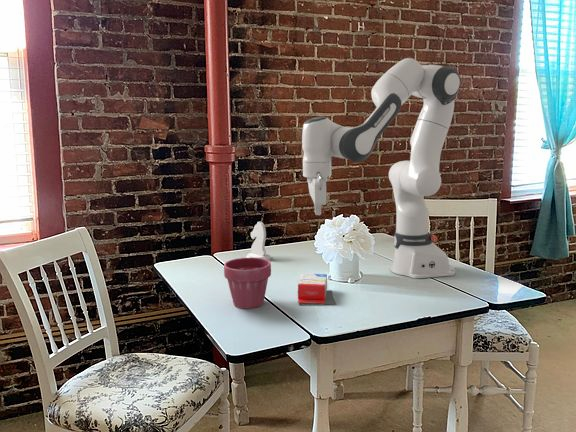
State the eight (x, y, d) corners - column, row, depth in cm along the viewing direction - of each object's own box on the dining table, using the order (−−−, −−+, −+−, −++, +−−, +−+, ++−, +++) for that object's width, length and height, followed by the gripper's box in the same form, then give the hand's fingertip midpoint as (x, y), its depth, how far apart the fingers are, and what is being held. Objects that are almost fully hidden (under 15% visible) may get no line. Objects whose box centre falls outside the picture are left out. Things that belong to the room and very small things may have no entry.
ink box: (327, 273, 185) (325, 288, 170) (327, 288, 186) (325, 304, 172) (300, 273, 186) (296, 288, 171) (301, 287, 187) (296, 303, 172)
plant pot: (230, 295, 182) (229, 256, 179) (274, 296, 180) (273, 257, 178) (220, 311, 168) (219, 269, 165) (267, 312, 166) (267, 270, 164)
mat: (331, 291, 184) (331, 290, 184) (335, 304, 172) (335, 303, 172) (297, 292, 184) (297, 291, 184) (299, 305, 172) (299, 304, 172)
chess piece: (259, 254, 229) (259, 217, 226) (276, 259, 222) (275, 221, 219) (240, 259, 223) (239, 221, 220) (257, 264, 216) (256, 225, 213)
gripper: (331, 174, 166) (331, 221, 169) (324, 166, 186) (324, 207, 189) (309, 175, 166) (310, 221, 169) (304, 166, 186) (305, 208, 189)
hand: (317, 214), depth 179 cm, fingers closed
